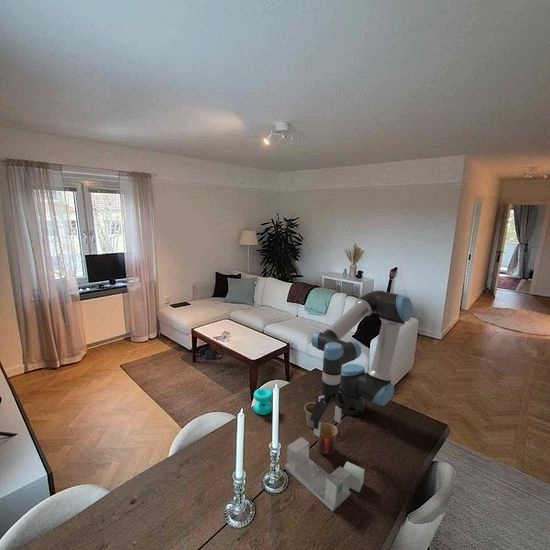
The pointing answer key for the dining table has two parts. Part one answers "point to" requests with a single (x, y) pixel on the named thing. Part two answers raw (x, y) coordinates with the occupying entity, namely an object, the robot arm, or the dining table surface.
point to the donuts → (263, 401)
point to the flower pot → (309, 413)
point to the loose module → (355, 476)
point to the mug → (327, 439)
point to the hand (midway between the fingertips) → (327, 427)
